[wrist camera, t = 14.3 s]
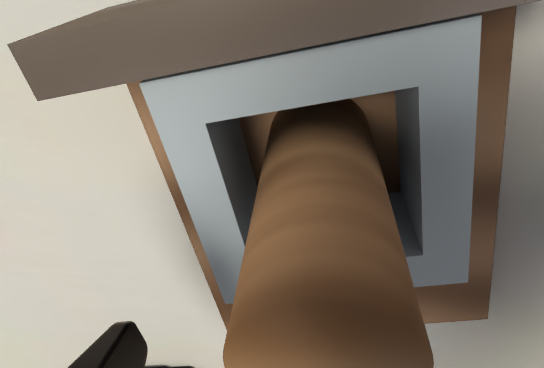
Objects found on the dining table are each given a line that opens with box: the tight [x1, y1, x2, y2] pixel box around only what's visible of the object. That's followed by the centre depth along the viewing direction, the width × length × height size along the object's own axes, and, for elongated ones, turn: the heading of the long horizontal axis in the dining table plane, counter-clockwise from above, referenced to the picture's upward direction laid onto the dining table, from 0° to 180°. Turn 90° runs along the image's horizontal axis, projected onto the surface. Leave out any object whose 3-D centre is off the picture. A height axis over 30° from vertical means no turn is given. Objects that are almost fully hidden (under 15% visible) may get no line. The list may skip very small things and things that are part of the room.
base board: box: [7, 0, 540, 330], centre depth 16 cm, size 18×14×6 cm
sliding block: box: [139, 13, 482, 304], centre depth 14 cm, size 9×9×4 cm
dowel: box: [223, 98, 434, 368], centre depth 12 cm, size 4×4×10 cm
